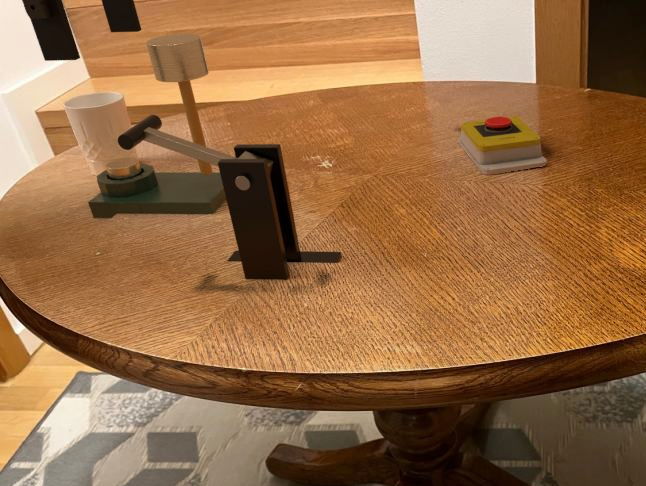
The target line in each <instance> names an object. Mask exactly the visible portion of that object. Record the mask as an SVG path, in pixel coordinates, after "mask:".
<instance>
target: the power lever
mask: <svg viewBox="0 0 646 486" xmlns="http://www.w3.org/2000/svg"><path fill="white" fill-rule="evenodd" d="M162 125H163V122H162V119H161V118H160V116H158V115H156V114H150V115H148V116H146V117H145V118H144V119H142V120H141V121H139V122H138V123H136V124H134V125H133V126H131V127H132V128H130V129H129V130H127V131H126V132H124V133H123V134H121V135H120V136H119V137H118V144H119V145H120V147H121V148H123V149H125V150H130V149H132V148H133V147H135V146H137V145H139V144H140V143H143V141H144V142H147V143H149V144H151V145H155V146H158V147H161V148H163V149H166V150H168V151H169V150H170V151H171V152H172V151H173V152H175V153H178V154H181V155H183V156H187V157H189V158H192V159H195V160H197V159H198V160H201V161H204V162H207V163H209V164H211V166H212V165H213V166H214V167H218V168H219V166H218V162H219V161H220V160H221V159H266V158H263V157H260V156H258V155H255V154H252V153H249V152H246V151H245V152H244V153H243V154H242V155H241V156H240V157H239V158H236V156H232V155H230V154H228V153H224V152H221V151H218V150H216V149H213V148H210V147H208V146H206V147H204V146H201V145H198V144H196V143H193V141H190V140H187V139H184V138H181V137H178V136H176V135H173V134H169V133H167V132H164V131H161V130H160V129H161V128H162ZM135 148H136V147H135ZM198 160H197V161H198ZM267 163H268V168H269V173H270V176H271V171H272V165H273V161H272V160H269V159H267Z"/></svg>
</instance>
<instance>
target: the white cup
mask: <svg viewBox="0 0 646 486" xmlns="http://www.w3.org/2000/svg"><path fill="white" fill-rule="evenodd" d="M62 106H63V108H64V111H65V113H66V117H67V119H68V122H69V125H70V127H71V129H72V131H73V134H74V137H75V139H76V141H77V143H78V146H79V149H80V150H81V153H82V155H83V157H84V158H85V161H86V163H87V166H88V168H89V171H90V174H91V175H92V176H95V177H97V176H98V175H99V174H100V173H102V172H103V171H105V170H107V169H106V164H107V163H109V162H111V161H114V160H117V159H121V158H136V159H138V160H139V156H138V153H137V147H136V146H137V145H136V146H135V147H133V148H132V149H130V150H125V149H123V148H121V147H120V145H119V144H118V137H119V136H120V135H121V134H123V133H124V132H126V131H127V130H129V129H130V128H132V127H133V126H132V124H131V123H132V122H131V118H130V114H129V112H128V108H127V103H126V99H125V95H124V94H123V93H122V92H119V91H118V92H117V91H99V92H97V91H96V92H90V93H84V94H80V95H77V96H74V97H71V98H69V99H67V100H65V101H63V104H62Z"/></svg>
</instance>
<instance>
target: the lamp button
mask: <svg viewBox="0 0 646 486" xmlns="http://www.w3.org/2000/svg"><path fill="white" fill-rule="evenodd" d="M140 164H141V163H140V160H139V158H138V159H136V158H121V159H117V160H114V161H111V162H109V163H107V164H106V169H107V172H108V175H109V178H110V180H125V179H131V178H134V177H136V176H139V175H141V174H142V170H141V166H140Z"/></svg>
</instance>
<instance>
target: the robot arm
mask: <svg viewBox="0 0 646 486" xmlns="http://www.w3.org/2000/svg"><path fill="white" fill-rule="evenodd" d="M21 1H22V4H23V8H24V10H25V13H26V15H27V16H28V17H29V19H30V22H31V25H32V27H33V31H34V33H35V36H36V39H37V42H38V45H39V48H40V51H41V54H42V56H43V59H44V61H45V62H47V61H49V62H52V61H56V62H57V61H77V60H79V59H81V56H80V53H79V49H78V46H77V43H76V41H75V36H74V34H73V30H72V28H71V25H70V21H69V19H68V15H67V11H66V9H65V6H64V3H63V0H21ZM101 3H102V7H103V10H104V12H105V13H104V14H105V16H106V17H105V18H106V20H107V25H108V26H109V30H110V33H138V32H140V31H142V27H141V22H140V19H139V15H138V12H137V8H136V4H135V1H134V0H101Z"/></svg>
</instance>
